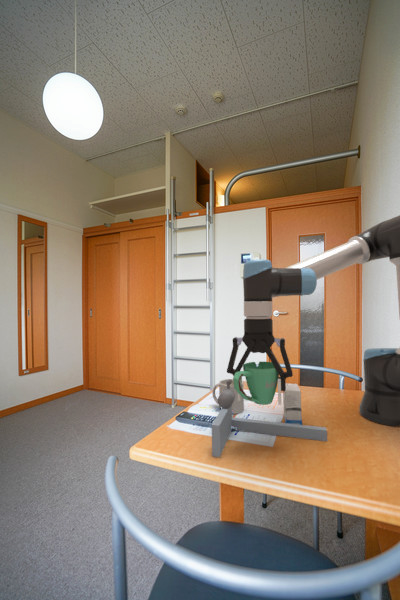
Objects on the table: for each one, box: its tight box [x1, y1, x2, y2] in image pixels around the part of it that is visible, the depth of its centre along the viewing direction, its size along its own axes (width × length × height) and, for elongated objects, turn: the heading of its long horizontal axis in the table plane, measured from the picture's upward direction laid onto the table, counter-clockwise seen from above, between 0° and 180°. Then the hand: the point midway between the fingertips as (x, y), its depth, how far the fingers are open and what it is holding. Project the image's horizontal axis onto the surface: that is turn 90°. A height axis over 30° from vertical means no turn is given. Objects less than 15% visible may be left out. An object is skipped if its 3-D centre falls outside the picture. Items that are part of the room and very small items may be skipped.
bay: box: [211, 378, 328, 458], centre depth 76 cm, size 30×20×14 cm, turn 73°
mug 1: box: [211, 378, 245, 415], centre depth 103 cm, size 11×10×10 cm
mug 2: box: [232, 361, 280, 406], centre depth 74 cm, size 15×10×10 cm
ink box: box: [282, 382, 303, 425], centre depth 89 cm, size 9×5×12 cm, turn 168°
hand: (259, 401), depth 74 cm, fingers closed on mug 2, 10 cm apart
